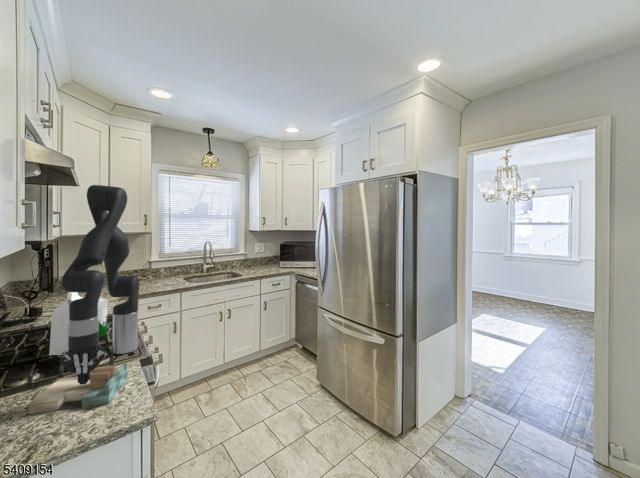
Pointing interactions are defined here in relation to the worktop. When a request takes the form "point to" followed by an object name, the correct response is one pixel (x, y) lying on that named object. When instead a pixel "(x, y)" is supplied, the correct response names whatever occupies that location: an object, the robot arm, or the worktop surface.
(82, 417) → the worktop surface
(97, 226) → the robot arm
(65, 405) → the pixelated toy pickaxe
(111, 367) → the block
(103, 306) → the milk carton
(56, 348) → the milk
